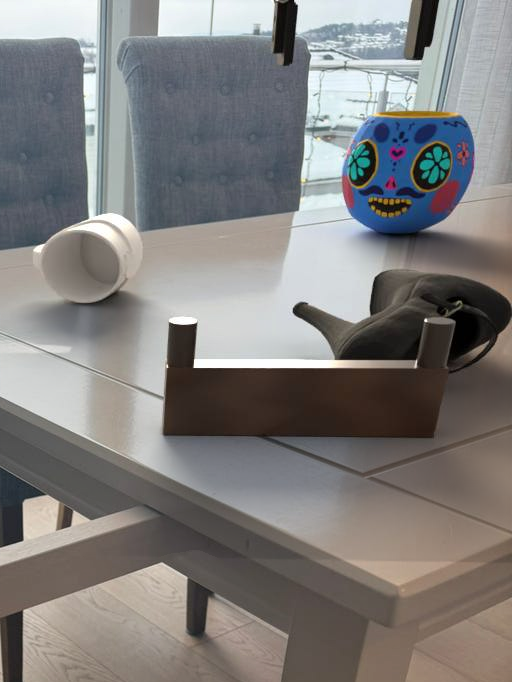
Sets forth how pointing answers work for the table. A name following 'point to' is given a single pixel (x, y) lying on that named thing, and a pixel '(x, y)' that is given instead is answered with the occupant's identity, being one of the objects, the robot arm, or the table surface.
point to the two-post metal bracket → (304, 391)
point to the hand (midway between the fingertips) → (348, 62)
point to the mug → (90, 258)
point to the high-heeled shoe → (415, 317)
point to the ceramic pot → (407, 169)
